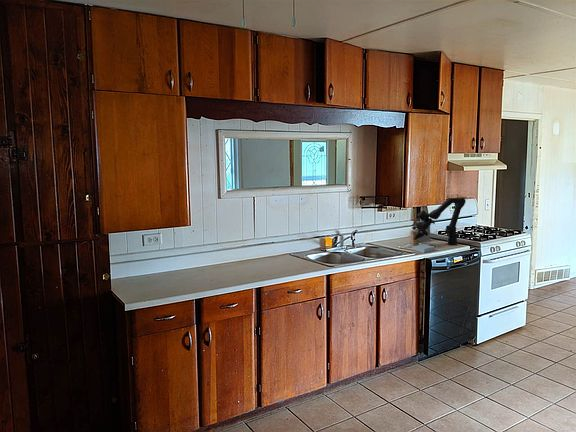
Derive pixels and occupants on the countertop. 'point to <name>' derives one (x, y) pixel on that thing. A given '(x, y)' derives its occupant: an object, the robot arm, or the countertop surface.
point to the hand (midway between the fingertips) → (413, 238)
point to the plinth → (424, 248)
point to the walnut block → (413, 238)
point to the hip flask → (424, 238)
